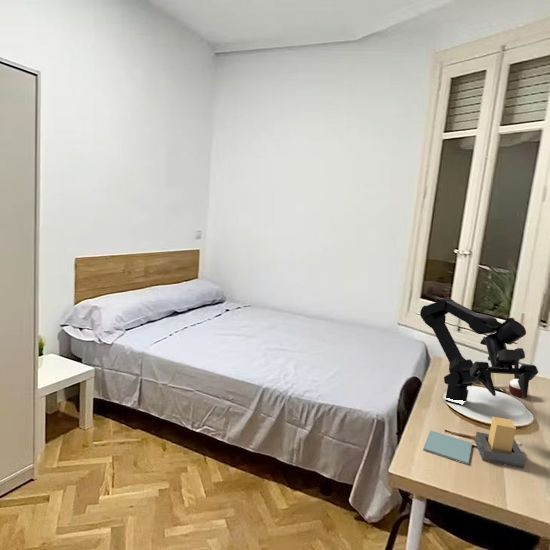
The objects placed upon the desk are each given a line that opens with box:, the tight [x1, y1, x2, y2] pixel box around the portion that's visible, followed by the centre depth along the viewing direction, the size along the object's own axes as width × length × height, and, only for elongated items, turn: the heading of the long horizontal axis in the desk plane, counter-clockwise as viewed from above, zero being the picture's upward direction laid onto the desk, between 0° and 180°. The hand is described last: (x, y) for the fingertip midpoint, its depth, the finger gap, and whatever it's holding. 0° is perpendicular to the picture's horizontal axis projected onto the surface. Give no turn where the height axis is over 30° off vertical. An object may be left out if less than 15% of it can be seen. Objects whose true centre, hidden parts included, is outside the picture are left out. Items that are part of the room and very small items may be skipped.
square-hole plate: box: [474, 431, 526, 469], centre depth 129 cm, size 10×10×3 cm
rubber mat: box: [422, 429, 473, 465], centre depth 131 cm, size 12×12×1 cm
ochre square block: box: [488, 416, 517, 452], centre depth 129 cm, size 5×5×10 cm
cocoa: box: [508, 361, 530, 398], centre depth 172 cm, size 10×6×12 cm, turn 156°
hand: (510, 396), depth 135 cm, fingers open, 9 cm apart
